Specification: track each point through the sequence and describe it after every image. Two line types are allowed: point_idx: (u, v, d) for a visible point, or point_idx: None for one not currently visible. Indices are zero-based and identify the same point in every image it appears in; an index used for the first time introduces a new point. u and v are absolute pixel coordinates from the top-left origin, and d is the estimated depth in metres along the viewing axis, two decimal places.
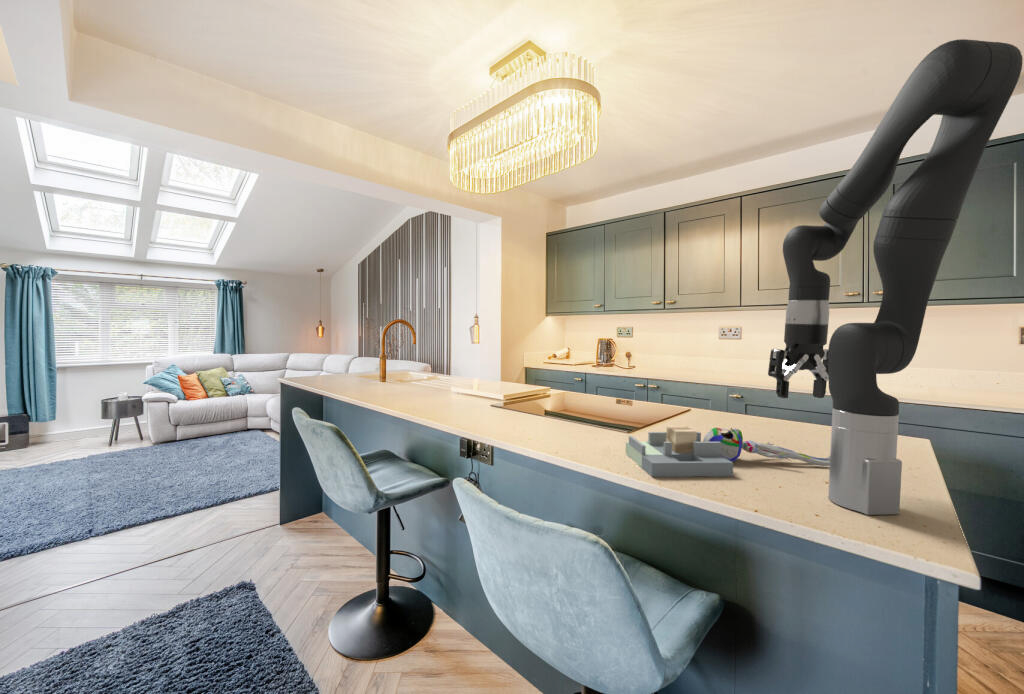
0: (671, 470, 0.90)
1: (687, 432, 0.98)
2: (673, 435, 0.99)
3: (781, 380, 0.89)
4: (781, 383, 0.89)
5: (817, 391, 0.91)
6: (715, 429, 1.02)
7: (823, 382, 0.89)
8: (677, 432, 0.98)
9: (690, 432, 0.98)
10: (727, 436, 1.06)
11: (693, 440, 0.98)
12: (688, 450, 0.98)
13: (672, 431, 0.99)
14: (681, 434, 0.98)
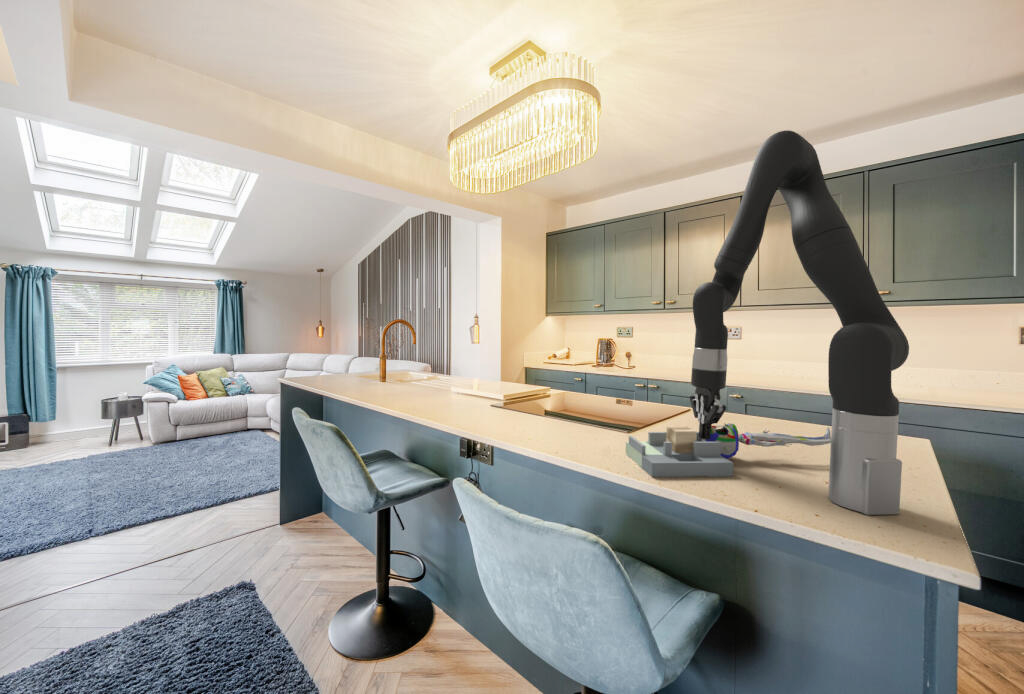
0: (671, 470, 0.90)
1: (687, 432, 0.98)
2: (673, 435, 0.99)
3: (711, 424, 1.00)
4: (710, 427, 1.00)
5: None
6: None
7: None
8: (677, 432, 0.98)
9: (690, 432, 0.98)
10: (723, 431, 1.06)
11: (693, 440, 0.98)
12: (688, 450, 0.98)
13: (672, 431, 0.99)
14: (681, 434, 0.98)
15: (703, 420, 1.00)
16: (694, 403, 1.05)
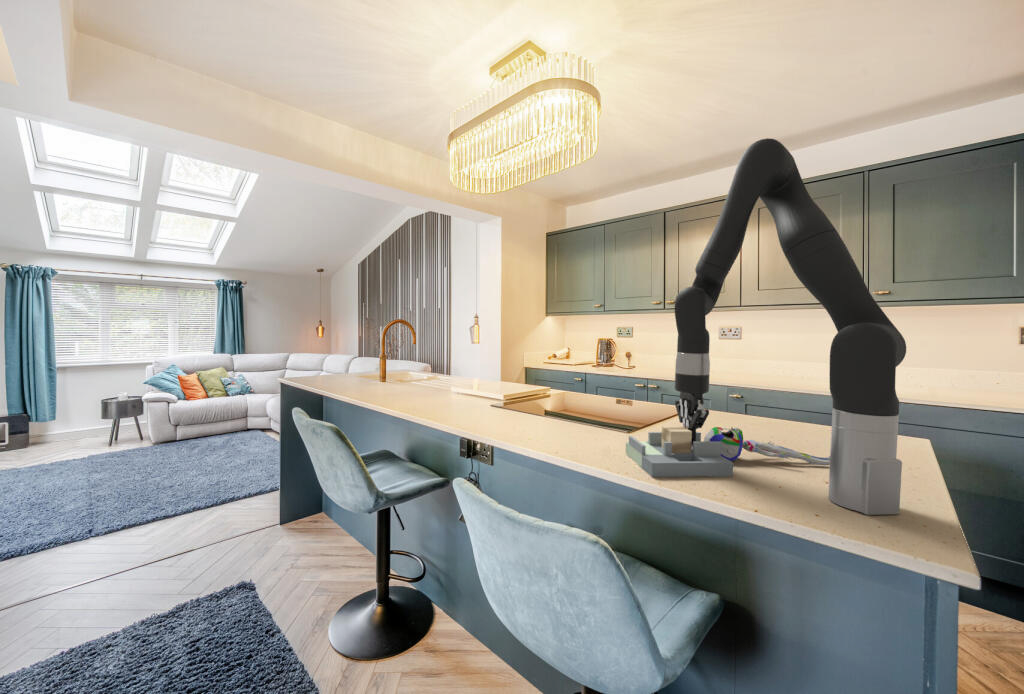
0: (671, 470, 0.90)
1: (682, 432, 0.98)
2: (668, 435, 0.98)
3: (695, 429, 0.99)
4: (695, 431, 0.99)
5: None
6: (716, 428, 1.03)
7: None
8: (672, 432, 0.97)
9: (685, 432, 0.98)
10: (728, 435, 1.06)
11: (688, 440, 0.98)
12: (683, 450, 0.98)
13: (667, 431, 0.99)
14: (676, 434, 0.98)
15: (687, 425, 0.99)
16: (679, 408, 1.04)
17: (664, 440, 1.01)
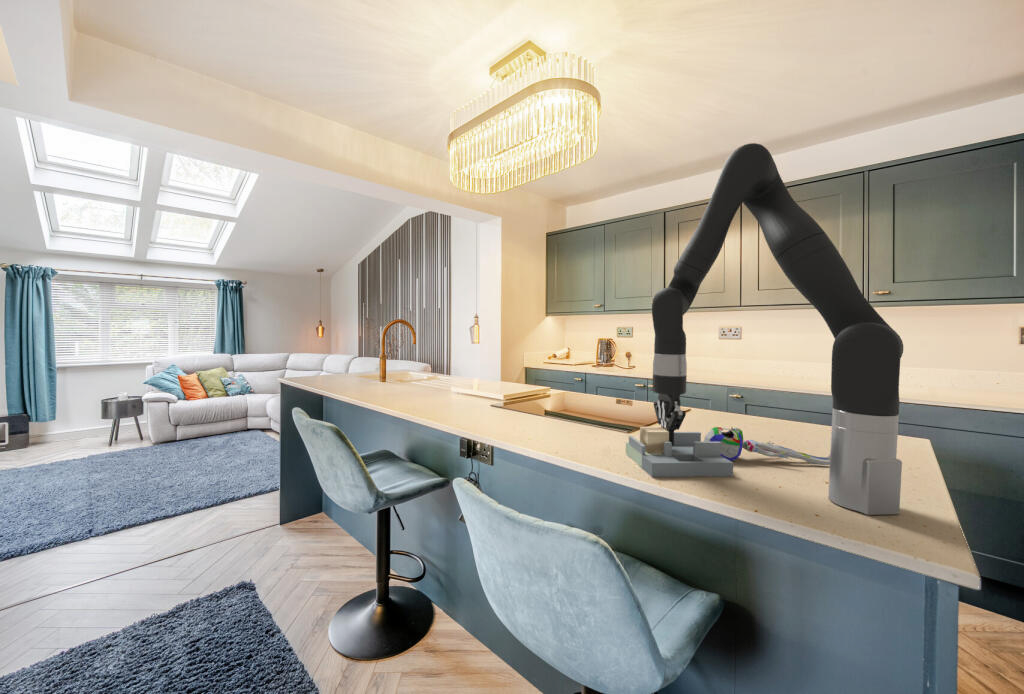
0: (671, 470, 0.90)
1: (659, 432, 0.97)
2: (646, 435, 0.98)
3: (673, 430, 0.99)
4: (673, 433, 0.99)
5: None
6: (716, 428, 1.03)
7: None
8: (649, 432, 0.97)
9: (662, 432, 0.97)
10: (728, 435, 1.07)
11: (665, 441, 0.97)
12: (660, 451, 0.97)
13: (645, 431, 0.99)
14: (653, 434, 0.97)
15: (665, 426, 0.99)
16: (657, 410, 1.04)
17: (642, 440, 1.00)
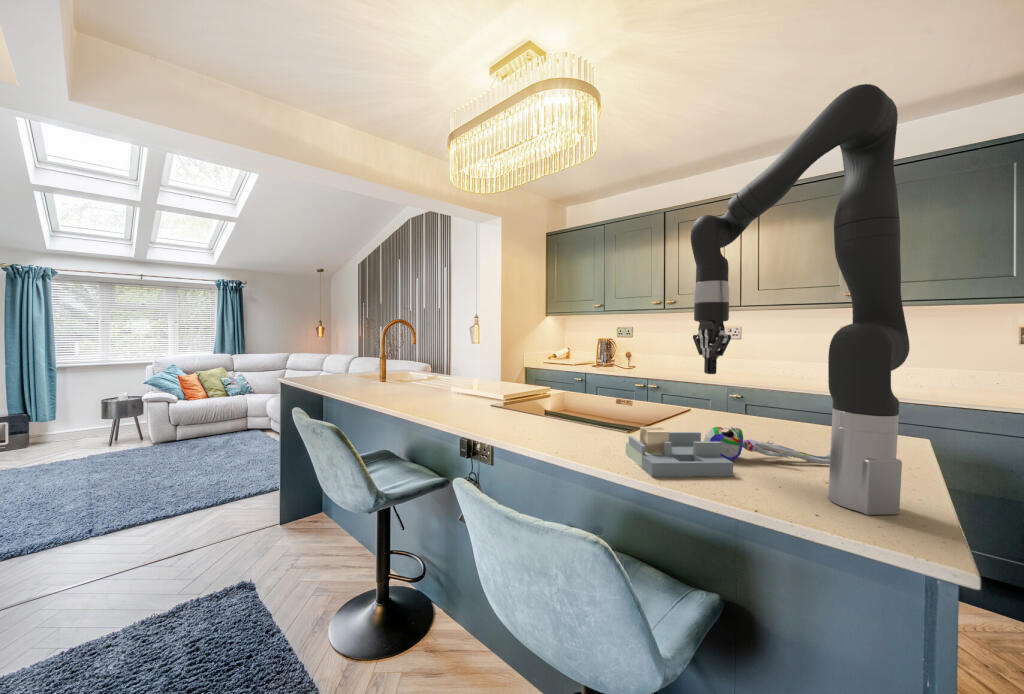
0: (671, 470, 0.90)
1: (659, 432, 0.97)
2: (646, 435, 0.98)
3: (716, 358, 0.99)
4: (715, 361, 0.99)
5: None
6: (716, 428, 1.04)
7: None
8: (649, 432, 0.97)
9: (662, 432, 0.97)
10: (728, 435, 1.07)
11: (665, 441, 0.97)
12: (660, 451, 0.97)
13: (645, 431, 0.99)
14: (653, 434, 0.97)
15: (708, 354, 0.99)
16: (698, 341, 1.04)
17: (642, 440, 1.00)
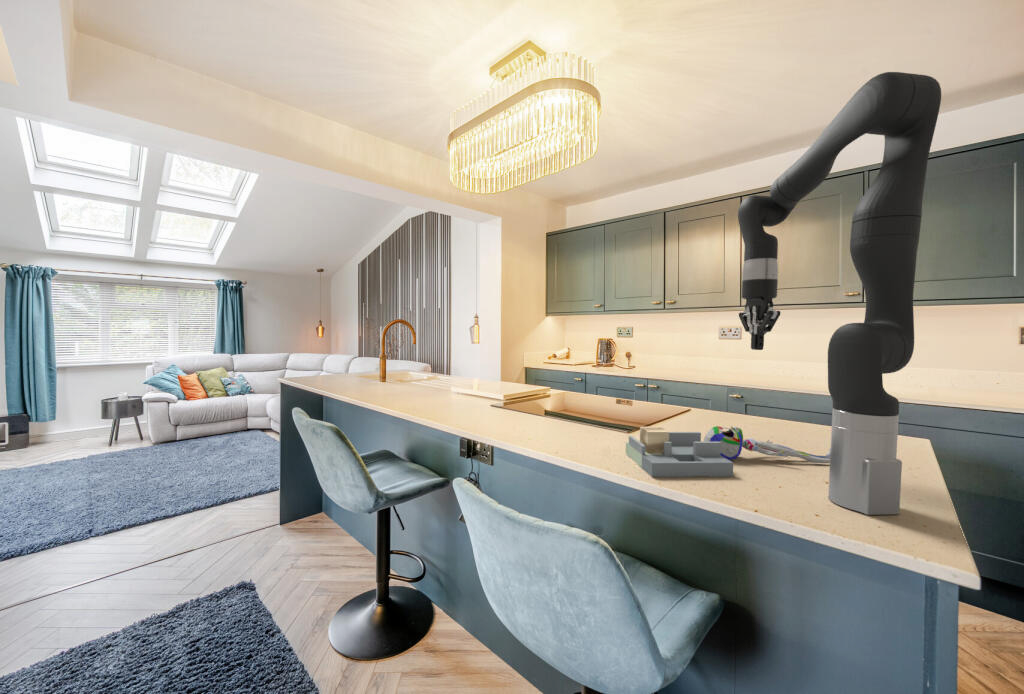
0: (671, 470, 0.90)
1: (659, 432, 0.97)
2: (646, 435, 0.98)
3: (763, 334, 1.02)
4: (763, 337, 1.02)
5: None
6: (716, 428, 1.04)
7: None
8: (649, 432, 0.97)
9: (662, 432, 0.97)
10: (727, 434, 1.07)
11: (665, 441, 0.97)
12: (660, 451, 0.97)
13: (645, 431, 0.99)
14: (653, 434, 0.97)
15: (756, 330, 1.02)
16: (744, 318, 1.07)
17: (642, 440, 1.00)
